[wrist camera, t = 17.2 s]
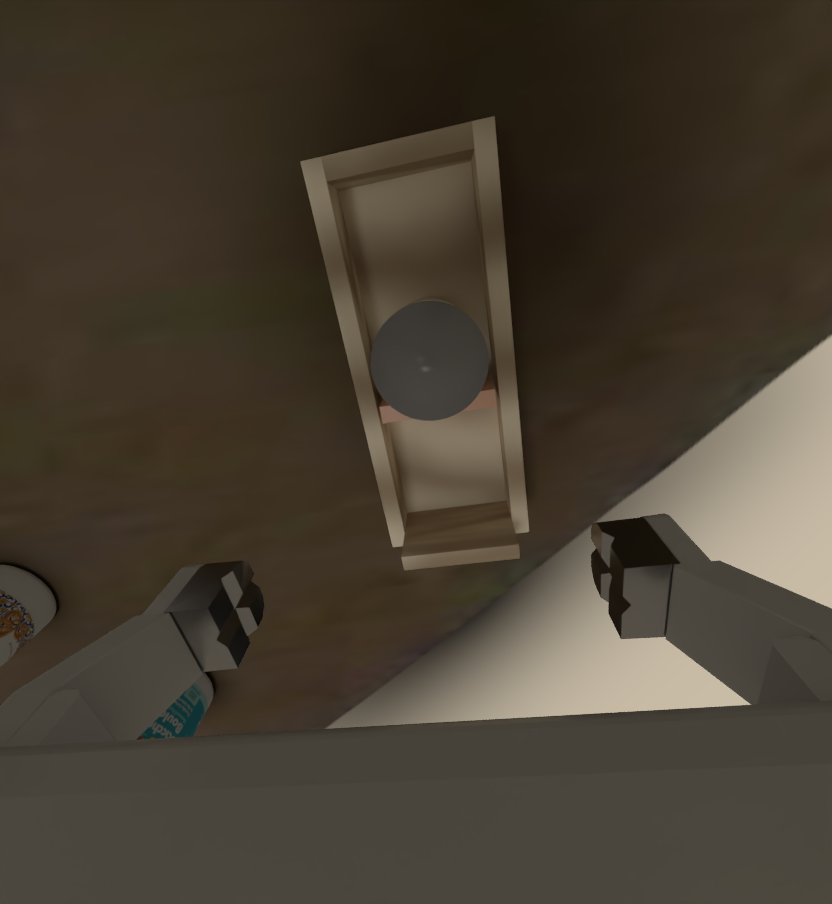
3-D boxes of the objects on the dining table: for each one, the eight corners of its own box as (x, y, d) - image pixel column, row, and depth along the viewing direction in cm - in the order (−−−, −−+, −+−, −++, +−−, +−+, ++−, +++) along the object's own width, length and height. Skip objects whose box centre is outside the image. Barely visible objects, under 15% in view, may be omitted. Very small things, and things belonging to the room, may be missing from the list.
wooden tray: (320, 177, 23) (281, 146, 17) (486, 138, 21) (502, 93, 16) (397, 518, 31) (388, 571, 26) (519, 503, 30) (537, 556, 24)
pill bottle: (222, 666, 39) (119, 852, 26) (211, 714, 42) (113, 901, 29) (142, 642, 38) (-2, 822, 26) (136, 693, 41) (4, 875, 29)
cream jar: (378, 306, 24) (357, 316, 18) (467, 286, 23) (479, 289, 17) (398, 391, 26) (385, 429, 19) (480, 375, 25) (496, 409, 19)
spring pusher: (385, 392, 26) (379, 406, 23) (488, 376, 25) (494, 389, 22) (389, 407, 26) (382, 423, 24) (490, 392, 26) (496, 406, 23)
